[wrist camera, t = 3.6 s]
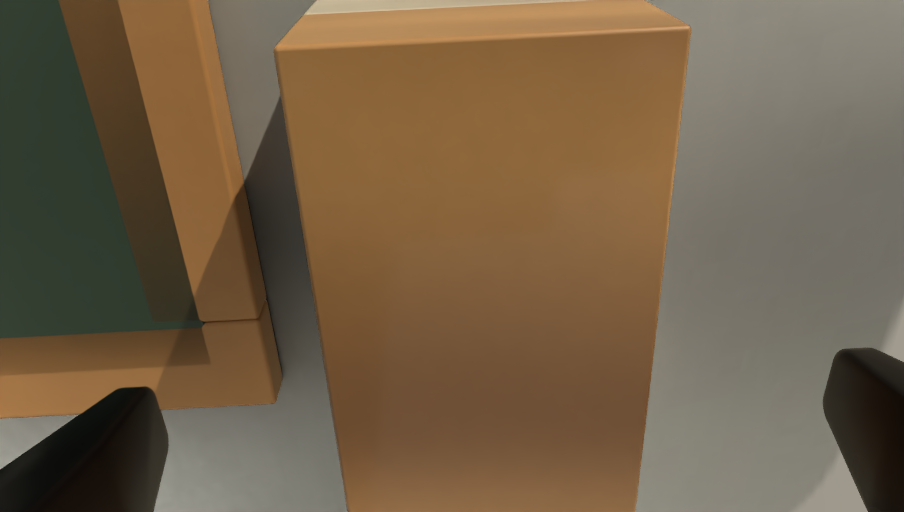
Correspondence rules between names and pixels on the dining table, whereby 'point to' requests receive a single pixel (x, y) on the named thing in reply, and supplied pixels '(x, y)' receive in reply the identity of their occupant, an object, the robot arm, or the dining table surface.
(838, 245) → the dining table surface
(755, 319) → the dining table surface
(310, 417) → the dining table surface
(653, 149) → the eraser
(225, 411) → the dining table surface
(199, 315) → the chalkboard
